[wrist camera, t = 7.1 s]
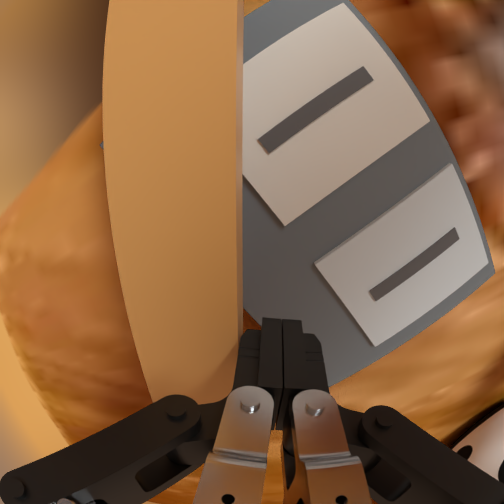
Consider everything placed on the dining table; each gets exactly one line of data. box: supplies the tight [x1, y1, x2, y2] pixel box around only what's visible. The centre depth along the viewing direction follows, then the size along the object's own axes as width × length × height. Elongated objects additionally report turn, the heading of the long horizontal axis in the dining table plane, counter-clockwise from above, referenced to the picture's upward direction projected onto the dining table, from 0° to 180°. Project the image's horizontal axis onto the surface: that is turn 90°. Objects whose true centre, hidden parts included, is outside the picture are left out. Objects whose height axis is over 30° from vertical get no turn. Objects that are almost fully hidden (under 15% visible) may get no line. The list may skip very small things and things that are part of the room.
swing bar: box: [103, 0, 244, 405], centre depth 10 cm, size 24×4×2 cm, turn 0°
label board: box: [100, 0, 495, 387], centre depth 14 cm, size 14×20×2 cm
